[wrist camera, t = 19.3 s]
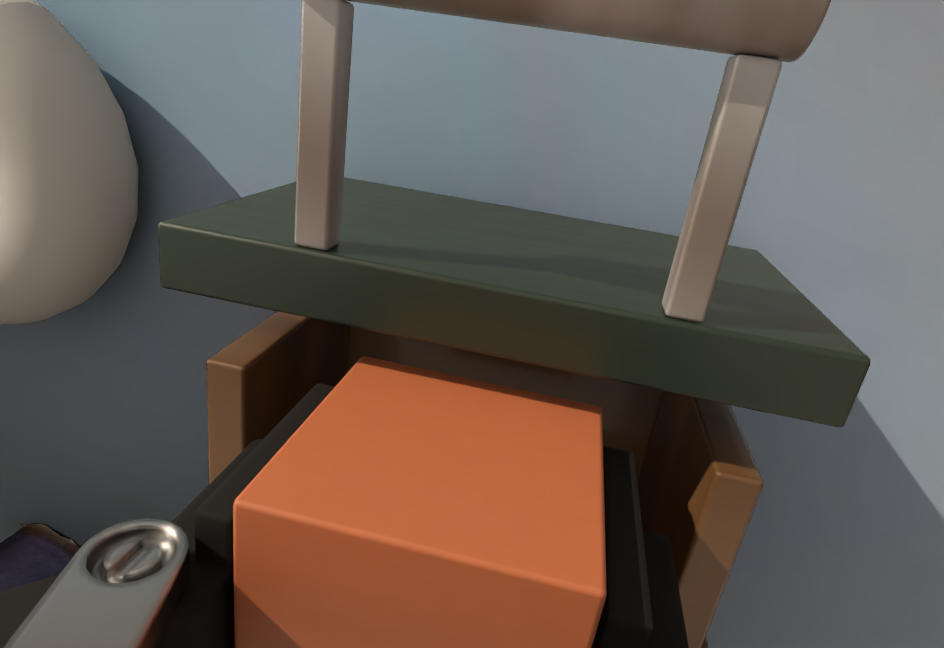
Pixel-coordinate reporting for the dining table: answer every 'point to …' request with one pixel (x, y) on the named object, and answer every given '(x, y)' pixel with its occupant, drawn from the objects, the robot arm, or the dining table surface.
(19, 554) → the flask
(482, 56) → the dining table surface
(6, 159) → the donut
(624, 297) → the drawer
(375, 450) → the block
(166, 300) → the dining table surface
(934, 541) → the dining table surface
